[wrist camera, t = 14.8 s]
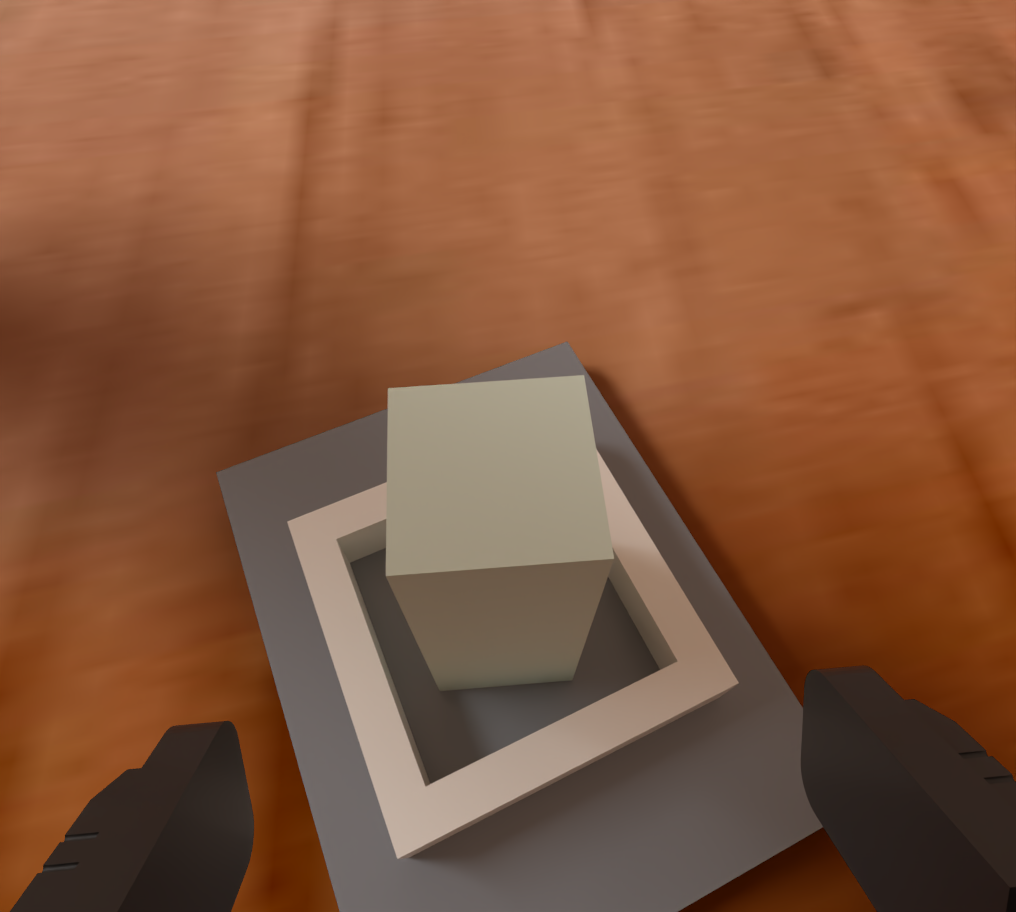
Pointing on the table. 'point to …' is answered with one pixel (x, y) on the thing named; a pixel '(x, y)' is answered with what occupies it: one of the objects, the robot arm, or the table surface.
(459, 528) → the sage block
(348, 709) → the grey base with frame
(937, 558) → the table surface
